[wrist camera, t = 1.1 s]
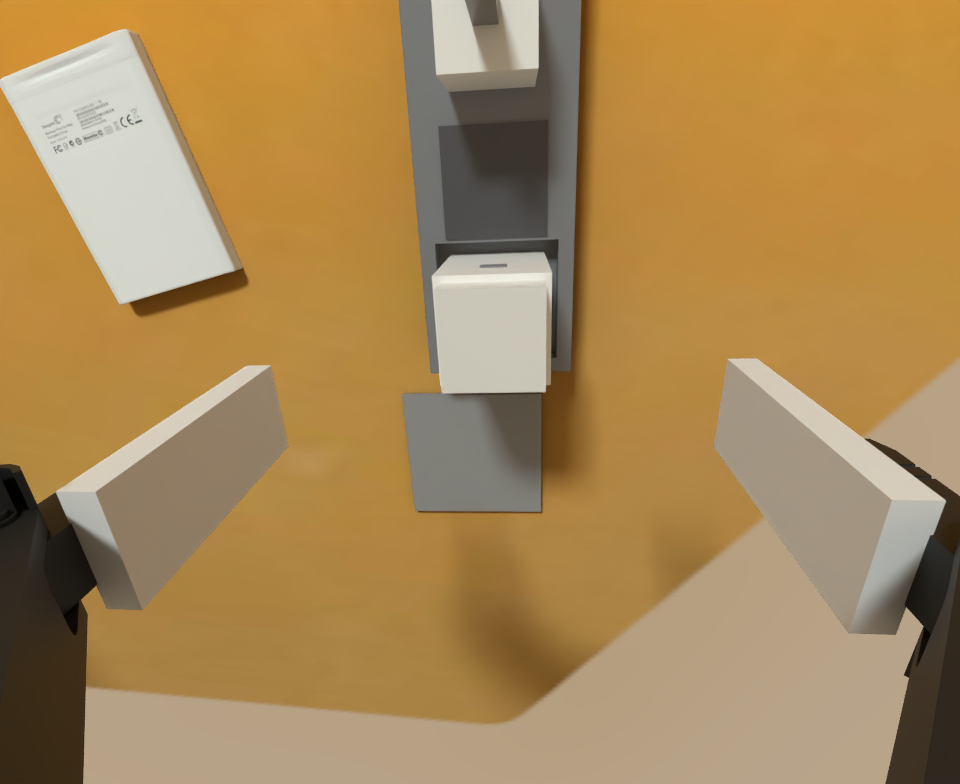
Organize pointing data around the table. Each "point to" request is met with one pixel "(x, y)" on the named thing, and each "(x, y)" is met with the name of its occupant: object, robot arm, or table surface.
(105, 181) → the external hard drive
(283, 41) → the table surface
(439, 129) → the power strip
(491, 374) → the block
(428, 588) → the table surface
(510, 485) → the mat
